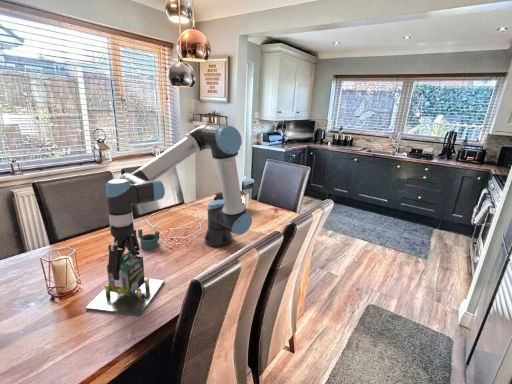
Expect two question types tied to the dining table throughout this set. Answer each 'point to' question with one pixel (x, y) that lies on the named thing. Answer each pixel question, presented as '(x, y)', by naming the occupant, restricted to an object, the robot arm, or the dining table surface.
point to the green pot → (148, 240)
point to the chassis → (126, 299)
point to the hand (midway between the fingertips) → (127, 277)
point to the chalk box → (129, 275)
